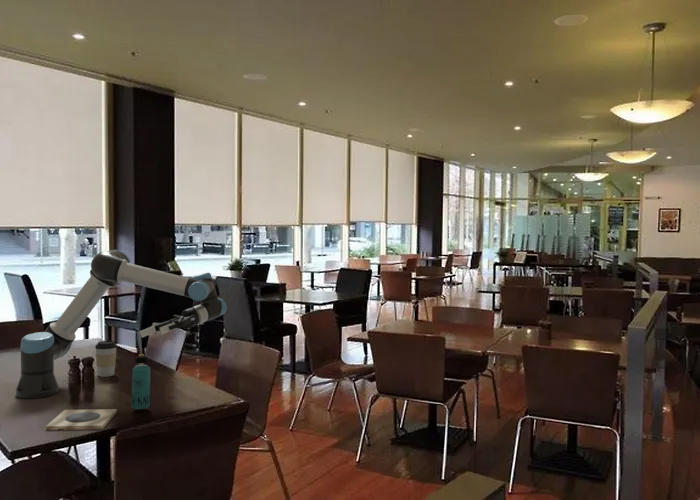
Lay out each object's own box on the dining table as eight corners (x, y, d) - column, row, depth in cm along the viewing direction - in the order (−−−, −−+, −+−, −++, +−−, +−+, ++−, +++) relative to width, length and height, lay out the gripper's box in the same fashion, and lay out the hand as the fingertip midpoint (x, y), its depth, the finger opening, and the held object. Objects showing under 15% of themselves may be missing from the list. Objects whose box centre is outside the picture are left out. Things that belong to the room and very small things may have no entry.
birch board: (45, 429, 202) (45, 426, 202) (64, 413, 220) (64, 409, 220) (102, 429, 204) (102, 425, 204) (116, 412, 222) (116, 408, 222)
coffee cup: (109, 377, 270) (109, 344, 270) (90, 376, 272) (90, 342, 271) (120, 373, 279) (120, 340, 278) (102, 371, 281) (102, 339, 280)
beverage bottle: (134, 407, 228) (134, 354, 227) (152, 407, 229) (152, 354, 228) (129, 413, 221) (129, 358, 221) (148, 413, 222) (148, 358, 221)
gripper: (215, 322, 245) (172, 339, 228) (178, 328, 260) (135, 344, 244) (210, 304, 245) (167, 320, 228) (173, 311, 260) (130, 326, 243)
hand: (150, 332), depth 236 cm, fingers open, 13 cm apart
